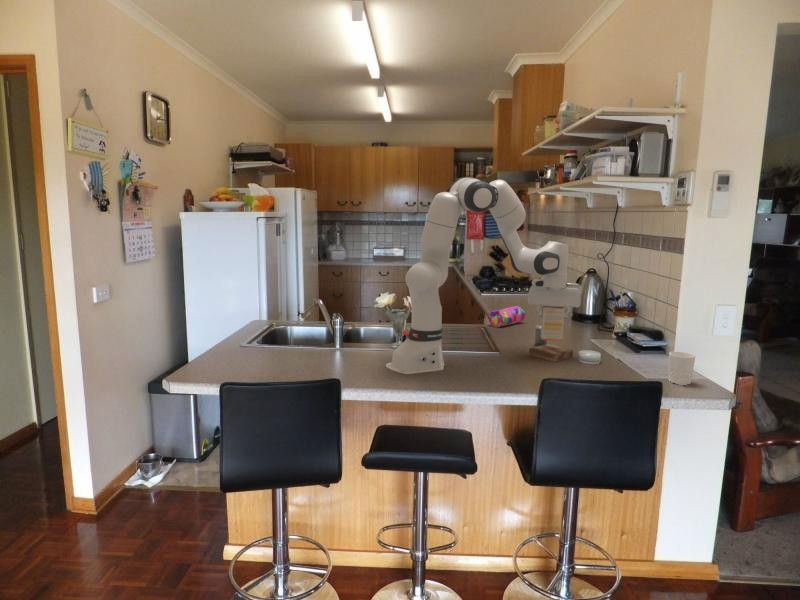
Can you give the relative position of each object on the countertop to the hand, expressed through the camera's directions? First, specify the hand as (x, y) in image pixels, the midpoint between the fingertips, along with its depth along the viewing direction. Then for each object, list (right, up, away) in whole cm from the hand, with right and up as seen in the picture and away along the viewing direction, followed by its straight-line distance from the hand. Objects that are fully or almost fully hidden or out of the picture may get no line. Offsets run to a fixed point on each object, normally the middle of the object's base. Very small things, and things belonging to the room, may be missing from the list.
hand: (552, 316), depth 207 cm
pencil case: (-6, -6, +62) cm, 62 cm away
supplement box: (0, -9, +2) cm, 9 cm away
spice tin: (0, -13, +19) cm, 23 cm away
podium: (0, -16, +3) cm, 16 cm away
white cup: (+35, -22, -28) cm, 50 cm away
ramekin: (+13, -17, -3) cm, 22 cm away
